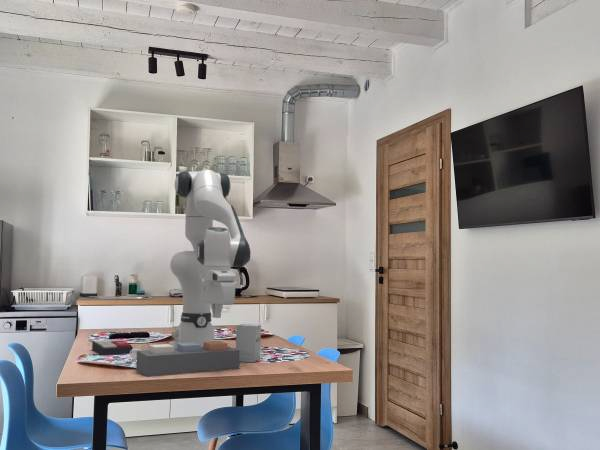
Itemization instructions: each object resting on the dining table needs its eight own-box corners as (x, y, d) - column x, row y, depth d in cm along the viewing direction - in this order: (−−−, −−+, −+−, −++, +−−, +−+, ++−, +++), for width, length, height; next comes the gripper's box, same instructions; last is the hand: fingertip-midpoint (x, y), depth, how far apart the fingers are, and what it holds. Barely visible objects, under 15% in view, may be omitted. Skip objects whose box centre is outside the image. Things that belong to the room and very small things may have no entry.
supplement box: (255, 362, 196) (256, 325, 197) (234, 361, 198) (235, 325, 199) (260, 359, 203) (261, 323, 204) (241, 358, 205) (242, 323, 206)
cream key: (148, 358, 177) (149, 345, 178) (167, 357, 181) (167, 343, 181) (154, 361, 172) (154, 347, 173) (173, 360, 175) (174, 346, 176)
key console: (136, 370, 178) (136, 350, 179) (224, 363, 194) (224, 345, 194) (147, 376, 168) (147, 356, 168) (238, 368, 183) (239, 350, 184)
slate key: (176, 356, 182) (177, 343, 182) (194, 355, 185) (194, 342, 185) (182, 359, 177) (183, 345, 177) (200, 358, 180) (201, 344, 180)
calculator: (103, 346, 205) (92, 339, 218) (102, 358, 205) (91, 350, 218) (133, 344, 212) (120, 337, 224) (132, 356, 212) (120, 348, 224)
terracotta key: (202, 355, 187) (203, 342, 187) (219, 354, 190) (220, 341, 190) (209, 357, 182) (210, 344, 182) (227, 356, 185) (227, 343, 185)
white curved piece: (153, 362, 196) (153, 350, 196) (131, 364, 190) (132, 352, 191) (141, 358, 202) (141, 347, 203) (120, 360, 197) (120, 349, 197)
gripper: (196, 275, 195) (196, 316, 194) (220, 275, 177) (219, 320, 176) (213, 275, 198) (213, 315, 197) (238, 275, 181) (238, 319, 179)
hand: (216, 317), depth 186 cm, fingers closed
